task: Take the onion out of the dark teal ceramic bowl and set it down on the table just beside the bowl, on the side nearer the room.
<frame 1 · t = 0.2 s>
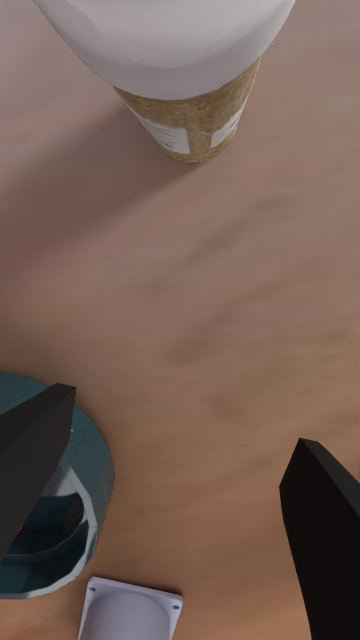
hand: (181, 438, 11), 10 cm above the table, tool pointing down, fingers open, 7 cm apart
sprinkles bottle: (192, 113, 17), on the table
bowl: (12, 460, 25), on the table
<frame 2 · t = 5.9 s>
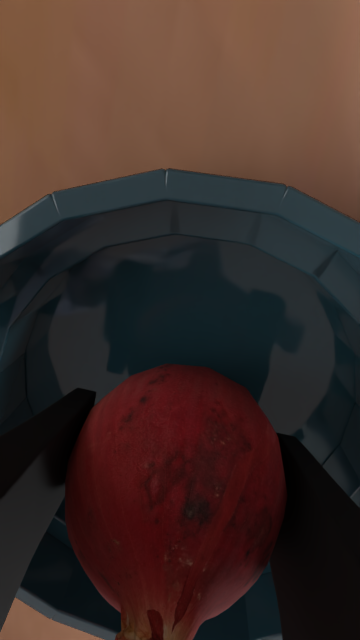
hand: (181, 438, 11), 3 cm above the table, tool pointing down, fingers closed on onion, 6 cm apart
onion: (184, 395, 13), resting on bowl, touching gripper
bowl: (185, 391, 13), on the table
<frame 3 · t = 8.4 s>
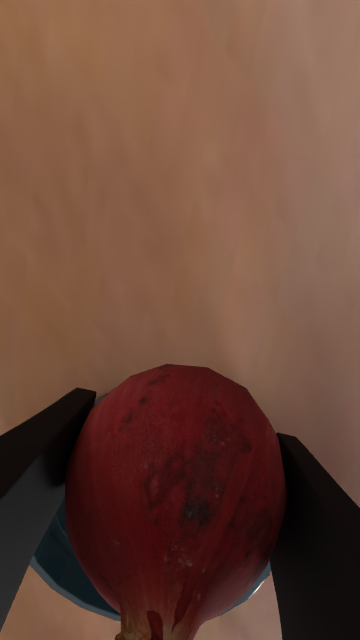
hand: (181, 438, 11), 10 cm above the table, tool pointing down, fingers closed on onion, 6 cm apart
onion: (184, 395, 13), point 7 cm above the table, touching gripper
bowl: (154, 480, 24), on the table
when the fingers open (2 cm above the table, at t = 10.8 s): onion stays where it is, on the table.
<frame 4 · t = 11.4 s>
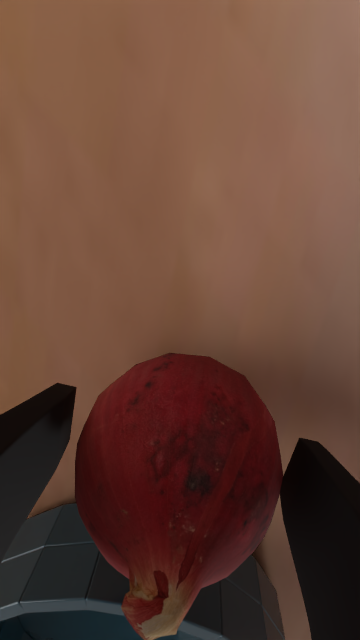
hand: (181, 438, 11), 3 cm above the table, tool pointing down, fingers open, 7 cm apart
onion: (185, 386, 14), on the table
bowl: (130, 602, 18), on the table
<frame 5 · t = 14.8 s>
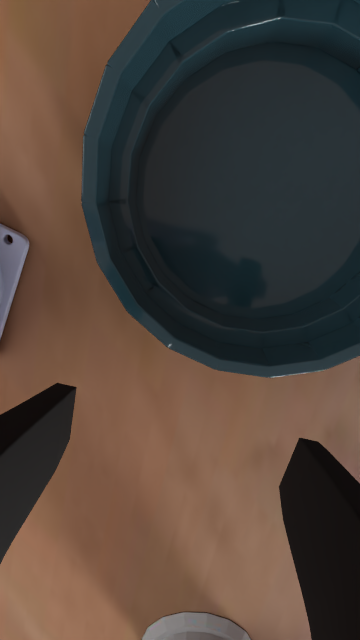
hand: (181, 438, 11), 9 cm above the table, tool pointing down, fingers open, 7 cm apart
bowl: (261, 197, 17), on the table
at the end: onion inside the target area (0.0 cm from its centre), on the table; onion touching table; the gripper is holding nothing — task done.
